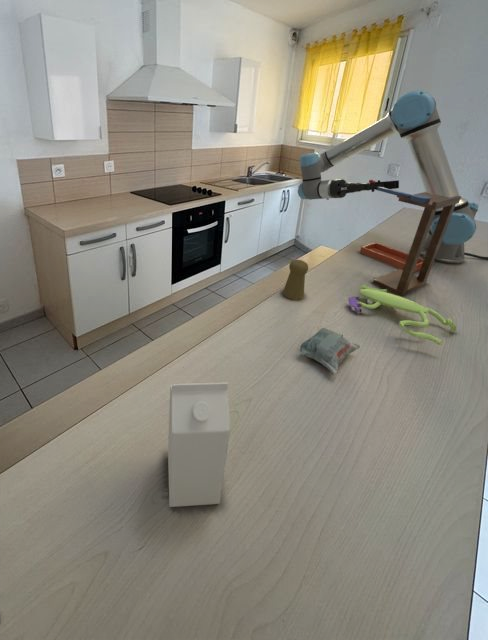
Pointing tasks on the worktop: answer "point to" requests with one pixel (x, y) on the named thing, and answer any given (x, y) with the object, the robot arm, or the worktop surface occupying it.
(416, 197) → the blue spoon
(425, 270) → the slanted wooden stand
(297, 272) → the cork
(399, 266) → the tray
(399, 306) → the figurine
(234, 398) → the worktop surface
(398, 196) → the red spoon
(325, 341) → the packaged food
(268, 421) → the worktop surface
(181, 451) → the milk carton
